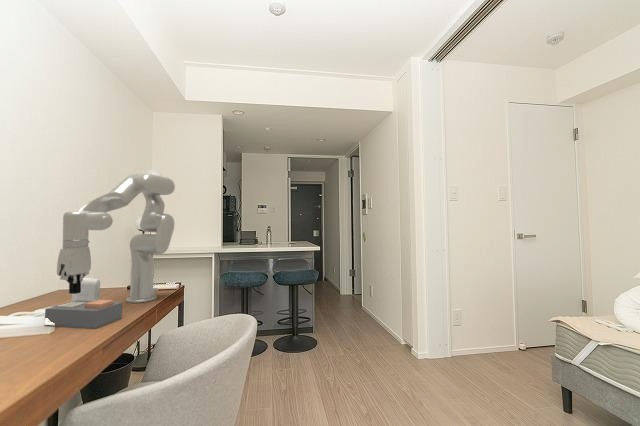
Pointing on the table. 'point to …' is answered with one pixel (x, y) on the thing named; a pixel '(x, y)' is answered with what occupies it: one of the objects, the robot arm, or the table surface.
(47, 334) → the table surface
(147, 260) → the robot arm
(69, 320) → the block
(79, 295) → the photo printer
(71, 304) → the white key
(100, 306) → the terracotta key
